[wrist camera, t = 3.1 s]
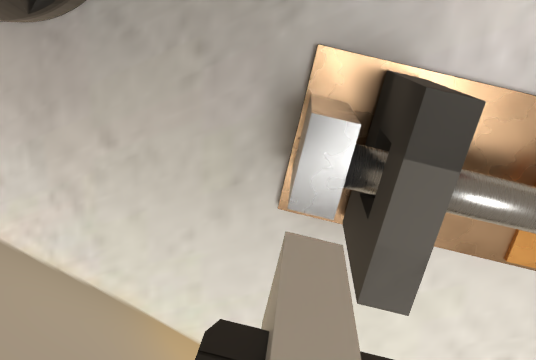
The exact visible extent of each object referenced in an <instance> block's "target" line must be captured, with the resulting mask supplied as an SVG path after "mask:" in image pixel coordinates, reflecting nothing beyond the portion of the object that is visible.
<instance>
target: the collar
mask: <svg viewBox="0 0 536 360" xmlns="http://www.w3.org/2000/svg"><path fill="white" fill-rule="evenodd" d="M485 103H486V101H484V100H481V99H478V98H476V97H473V96H470V95H467V94H465V93H462V92H459V91H457V90H454V89H451V88H448V87H446V86H443V85H440V84H438V83H435V82H432V81H429V80H427V79H423V78H418V77H414V76H410V75H406V74H401V73H397V72H393V71H389V70H387V72H386V76H385V79H384V82H383V86H382V89H381V93H380V96H379V99H378V103H377V106H376V110H375V113H374V116H373V120H372V123H371V127H370V130H369V133H368V137H367V140H366V144H365V146H368V147H372V148H376V149H381V150H385V151H389V154H388V157H387V160H386V163H385V167H384V170H383V173H382V176H381V179H380V183H379V186H378V189H377V192H376V195H372V194H367V193H363V192H359V191H355V190H352V191H351V195H350V198H349V202H348V205H347V208H346V212H345V215H344V219H343V222H342V223H343V228H344V234H345V239H346V245H347V250H348V256H349V261H350V267H351V272H352V278H353V283H354V289H355V294H356V300H357V304H361V305H366V306H370V307H374V308H378V309H382V310H386V311H390V312H394V313H398V314H403V315H407V316H409V313H410V310H411V308H412V305H413V302H414V299H415V297H416V294H417V291H418V288H419V285H420V283H421V280H422V277H423V274H424V272H425V269H426V266H427V263H428V261H429V258H430V255H431V252H432V250H433V247H434V244H435V241H436V239H437V236H438V233H439V230H440V228H441V225H442V222H443V219H444V216H445V214H446V211H447V208H448V205H449V203H450V200H451V197H452V194H453V192H454V189H455V186H456V183H457V181H458V178H459V175H460V172H461V170H462V167H463V164H464V161H465V158H466V156H467V153H468V150H469V147H470V145H471V142H472V139H473V136H474V134H475V131H476V128H477V125H478V123H479V120H480V117H481V114H482V112H483V109H484V106H485Z"/></svg>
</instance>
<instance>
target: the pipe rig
mask: <svg viewBox="0 0 536 360" xmlns="http://www.w3.org/2000/svg"><path fill="white" fill-rule="evenodd" d="M387 70H389V71H393V72H397V73H401V74H406V75H410V76H414V77H418V78H423V79H427V80H429V81H432V82H435V83H438V84H440V85H443V86H446V87H448V88H451V89H454V90H457V91H459V92H462V93H465V94H467V95H470V96H473V97H476V98H478V99H481V100H484V101H486V103H485V106H484V109H483V112H482V114H481V117H480V120H479V123H478V125H477V128H476V131H475V134H474V136H473V139H472V142H471V145H470V147H469V150H468V153H467V156H466V158H465V161H464V164H463V167H462V170H461V172H460V175H459V178H458V181H457V183H456V186H455V189H454V192H453V194H452V197H451V200H450V203H449V205H448V208H447V211H446V214H445V216H444V219H443V222H442V225H441V228H440V230H439V233H438V236H437V239H436V241H435V244H434V246H435V247H439V248H443V249H447V250H451V251H455V252H460V253H464V254H468V255H472V256H476V257H480V258H485V259H489V260H493V261H497V262H501V263H505V264H509V265H514V266H518V267H522V268H526V269H530V270H534V271H536V96H534V95H530V94H526V93H522V92H518V91H513V90H509V89H505V88H501V87H496V86H492V85H488V84H484V83H479V82H475V81H471V80H467V79H463V78H458V77H454V76H450V75H446V74H441V73H437V72H433V71H429V70H424V69H420V68H416V67H412V66H408V65H403V64H399V63H395V62H391V61H386V60H382V59H378V58H374V57H369V56H365V55H361V54H357V53H352V52H348V51H344V50H340V49H336V48H331V47H327V46H323V45H319V44H318V46H317V51H316V55H315V59H314V63H313V67H312V71H311V75H310V79H309V83H308V87H307V91H306V95H305V99H304V103H303V107H302V111H301V115H300V119H299V123H298V127H297V131H296V135H295V140H294V144H293V148H292V152H291V156H290V160H289V164H288V168H287V172H286V176H285V180H284V184H283V188H282V192H281V196H280V200H279V204H278V209H281V210H285V211H289V212H293V213H298V214H302V215H306V216H310V217H314V218H318V219H323V220H327V221H331V222H335V223H339V224H343V223H342V222H343V219H344V215H345V212H346V208H347V205H348V202H349V198H350V195H351V191H352V190H355V191H359V192H363V193H367V194H372V195H376V192H377V189H378V186H379V183H380V179H381V176H382V173H383V170H384V167H385V163H386V160H387V157H388V154H389V151H385V150H381V149H376V148H372V147H368V146H365V144H366V140H367V137H368V133H369V130H370V127H371V123H372V120H373V116H374V113H375V110H376V106H377V103H378V99H379V96H380V93H381V89H382V86H383V82H384V79H385V76H386V72H387Z"/></svg>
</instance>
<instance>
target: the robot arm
mask: <svg viewBox="0 0 536 360" xmlns="http://www.w3.org/2000/svg"><path fill="white" fill-rule="evenodd" d="M84 1H86V0H0V21H6V22H37V21H43V20H48V19H51V18H55V17H58V16H60V15H63V14H65V13H67V12H69V11H71V10H73V9H74V8H76V7H77V6H79V5H80V4H82V3H83V2H84ZM195 360H393V359H389V358H385V357H381V356H377V355H372V354H368V353H364V352H360V349H359V342H358V336H357V330H356V324H355V318H354V312H353V305H352V299H351V293H350V287H349V281H348V275H347V269H346V262H345V256H344V250H343V245H340V244H336V243H331V242H327V241H323V240H319V239H315V238H311V237H307V236H303V235H298V234H294V233H290V232H285V236H284V240H283V244H282V248H281V252H280V256H279V259H278V263H277V267H276V271H275V275H274V279H273V283H272V287H271V291H270V295H269V298H268V302H267V306H266V310H265V314H264V318H263V322H262V328H261V329H259V328H255V327H251V326H247V325H242V324H238V323H234V322H230V321H226V320H222V319H220V320H219V321H218V322H216V323H215V324H214V325H213V326H212V327H210V328H209V329H208V330H207V331H205V333H204V336H203V339H202V342H201V344H200V347H199V350H198V354H197V356H196V358H195Z"/></svg>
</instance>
